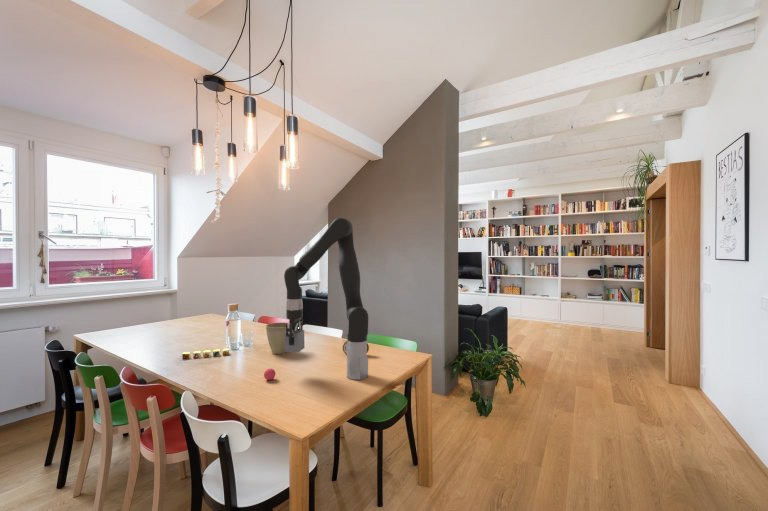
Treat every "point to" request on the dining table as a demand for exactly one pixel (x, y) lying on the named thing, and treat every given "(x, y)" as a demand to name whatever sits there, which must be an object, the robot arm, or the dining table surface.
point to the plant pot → (276, 337)
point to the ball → (269, 374)
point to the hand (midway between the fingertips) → (294, 342)
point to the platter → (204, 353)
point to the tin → (346, 347)
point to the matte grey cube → (295, 342)
